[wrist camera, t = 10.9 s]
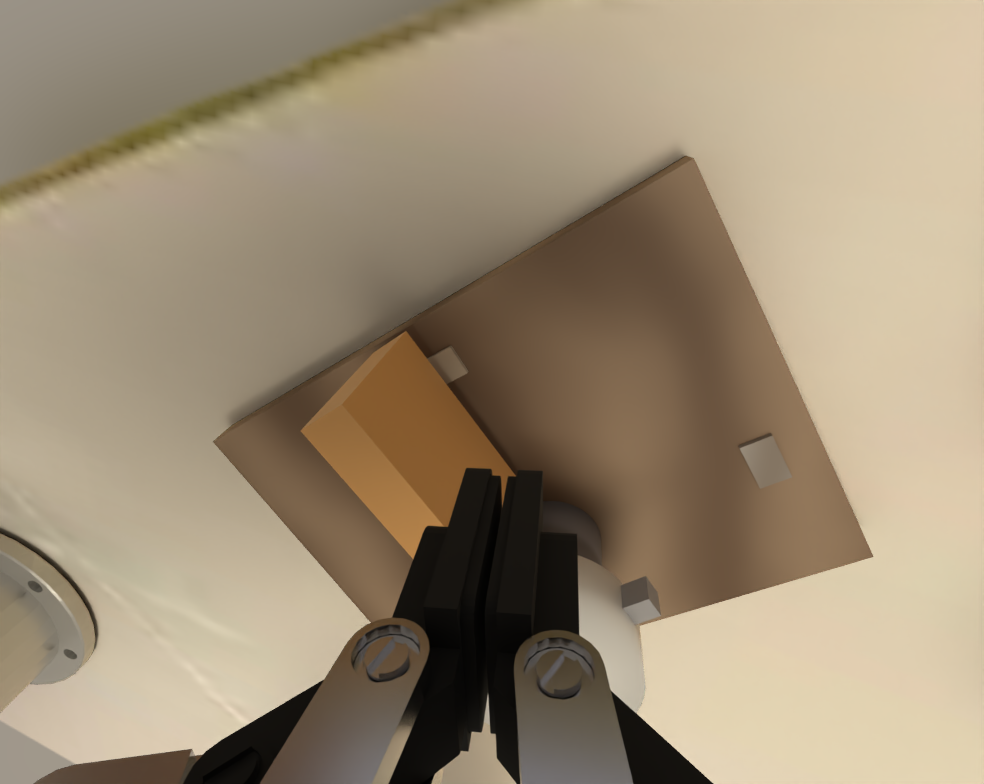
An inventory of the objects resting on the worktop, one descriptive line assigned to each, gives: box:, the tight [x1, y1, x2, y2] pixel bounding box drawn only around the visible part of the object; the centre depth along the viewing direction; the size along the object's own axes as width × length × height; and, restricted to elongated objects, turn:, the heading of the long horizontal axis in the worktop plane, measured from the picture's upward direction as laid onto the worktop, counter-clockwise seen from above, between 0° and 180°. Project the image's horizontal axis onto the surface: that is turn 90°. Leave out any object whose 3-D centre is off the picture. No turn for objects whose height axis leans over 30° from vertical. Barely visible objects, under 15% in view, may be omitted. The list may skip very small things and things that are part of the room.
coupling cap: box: [301, 331, 661, 725], centre depth 19 cm, size 14×8×6 cm, turn 35°
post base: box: [213, 156, 873, 626], centre depth 22 cm, size 22×17×6 cm
